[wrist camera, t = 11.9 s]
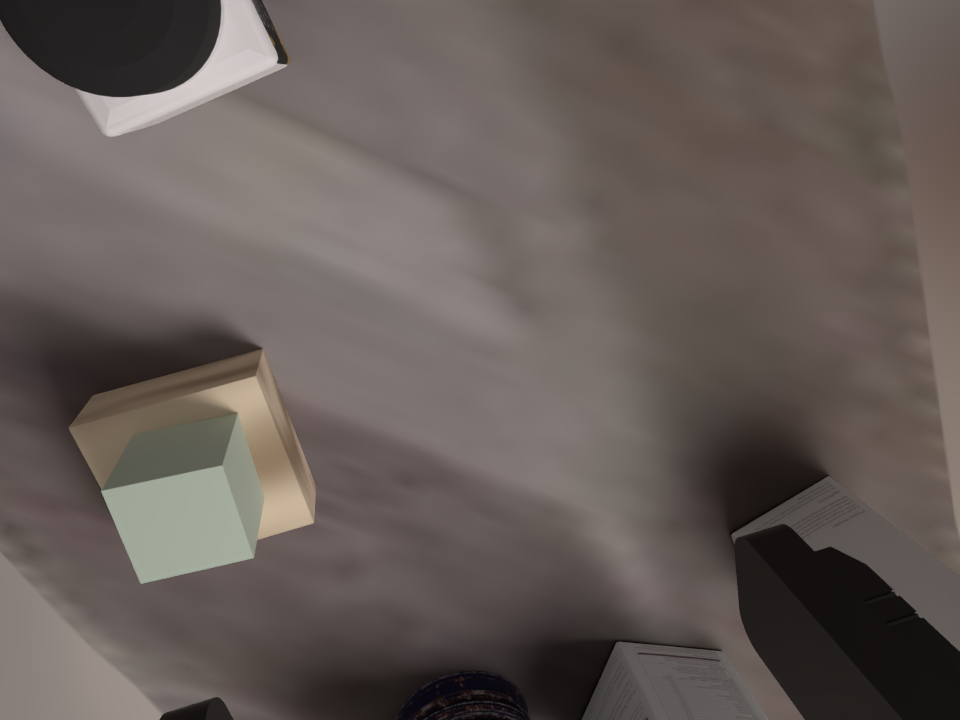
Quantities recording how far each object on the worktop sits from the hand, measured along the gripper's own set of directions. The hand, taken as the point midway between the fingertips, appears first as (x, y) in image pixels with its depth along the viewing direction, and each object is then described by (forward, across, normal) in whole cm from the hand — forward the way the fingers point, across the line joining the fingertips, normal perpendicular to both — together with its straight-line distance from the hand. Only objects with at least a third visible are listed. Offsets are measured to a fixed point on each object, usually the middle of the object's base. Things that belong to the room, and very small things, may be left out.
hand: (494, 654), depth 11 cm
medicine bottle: (+28, +6, -12) cm, 31 cm away
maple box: (+28, +12, +8) cm, 32 cm away
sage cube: (+24, +12, +8) cm, 28 cm away
